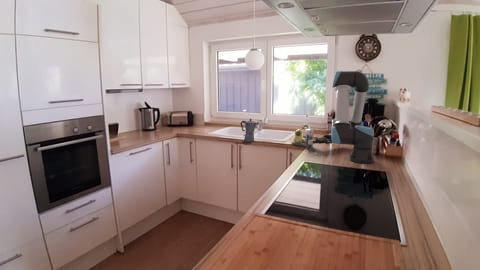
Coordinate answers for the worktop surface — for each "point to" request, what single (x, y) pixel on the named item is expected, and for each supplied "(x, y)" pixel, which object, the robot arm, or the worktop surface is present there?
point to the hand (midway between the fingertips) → (309, 142)
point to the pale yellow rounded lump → (298, 138)
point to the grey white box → (309, 137)
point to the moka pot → (249, 130)
